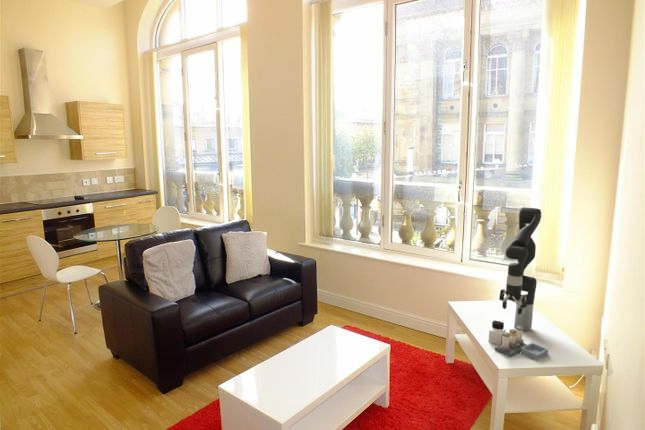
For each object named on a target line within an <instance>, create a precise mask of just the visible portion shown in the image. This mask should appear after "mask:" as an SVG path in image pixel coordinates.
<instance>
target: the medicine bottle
mask: <svg viewBox="0 0 645 430" xmlns="http://www.w3.org/2000/svg"><path fill="white" fill-rule="evenodd" d="M504 326H505V323H504V321H501V320H497V319H496V320H492V323H491V328H490V329H489V333H488V343H491V344H495V345H497V346H498V345H500V344H502V337H503V332H506V328H504Z"/></svg>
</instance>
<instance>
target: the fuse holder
mask: <svg viewBox="0 0 645 430" xmlns="http://www.w3.org/2000/svg"><path fill="white" fill-rule="evenodd" d="M515 330H516V331H517V332H516V342H515V346H512V345H509V337H510V334H509V332H506V331H505V332H503V337H502V344H500V345H498V344H497V345H496V346H495V347H494V351H495V352H497V353H499V354H502V355H504V356H506V357H509V358H512V357H514V356H516V355H517V354H519V353H521V348H522V347H524V346H526V345H528V343H525V342H524V339H523V327H521V326H516V329H515Z"/></svg>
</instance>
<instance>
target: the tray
mask: <svg viewBox="0 0 645 430" xmlns="http://www.w3.org/2000/svg"><path fill="white" fill-rule="evenodd" d="M519 355H523V356H524V357H527V358H528V359H531V360H534V361H536V362H538V361H539V360H542V359H543V358H545V357H547V356H548V355H549V348H546V347H544V346H541V345H539V344H538V343H535V342H530V343H527V345H526V346H524V347H522V348H521V352H520V354H519Z"/></svg>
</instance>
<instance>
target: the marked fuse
mask: <svg viewBox="0 0 645 430" xmlns="http://www.w3.org/2000/svg"><path fill="white" fill-rule="evenodd" d="M516 332H517V331H516V329H515V328H513V329H511V328H510V329H509V332H508V333H509V334H510V337H509V345H512V346H515V342H516Z"/></svg>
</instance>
